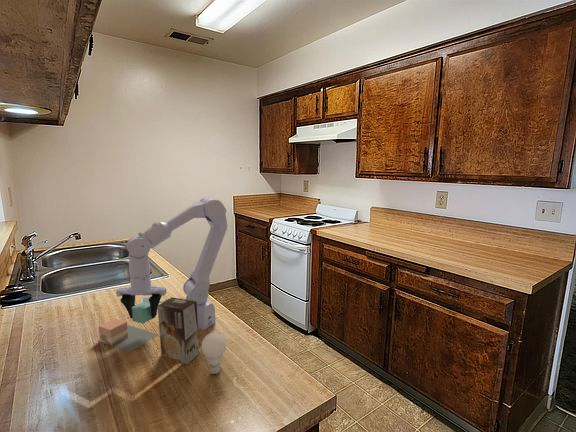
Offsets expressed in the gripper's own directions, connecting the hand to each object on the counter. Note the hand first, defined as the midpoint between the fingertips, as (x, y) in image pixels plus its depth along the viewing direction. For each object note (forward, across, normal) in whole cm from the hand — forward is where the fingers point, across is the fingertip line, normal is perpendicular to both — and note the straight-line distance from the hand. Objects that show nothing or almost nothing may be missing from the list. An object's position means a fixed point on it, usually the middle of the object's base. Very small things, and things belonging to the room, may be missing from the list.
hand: (143, 316), depth 100 cm
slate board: (+7, +5, +1) cm, 9 cm away
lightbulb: (+8, -26, +18) cm, 32 cm away
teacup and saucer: (+8, +8, -24) cm, 26 cm away
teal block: (+1, 0, 0) cm, 1 cm away
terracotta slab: (+4, +9, +2) cm, 10 cm away
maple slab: (+6, +9, +2) cm, 11 cm away
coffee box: (+8, -14, +10) cm, 19 cm away
